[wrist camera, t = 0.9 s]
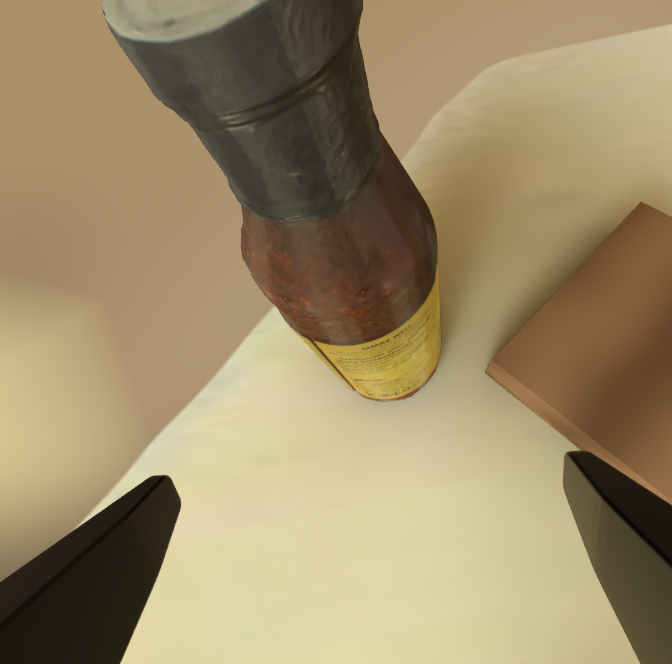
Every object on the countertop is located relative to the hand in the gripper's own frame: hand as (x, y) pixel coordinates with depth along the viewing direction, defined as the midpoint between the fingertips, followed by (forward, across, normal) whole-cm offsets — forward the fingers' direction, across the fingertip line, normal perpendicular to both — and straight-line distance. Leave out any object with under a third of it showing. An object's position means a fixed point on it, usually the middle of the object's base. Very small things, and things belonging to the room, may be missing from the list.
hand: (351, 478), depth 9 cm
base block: (+13, -14, +6) cm, 20 cm away
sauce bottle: (+15, 0, +4) cm, 15 cm away
